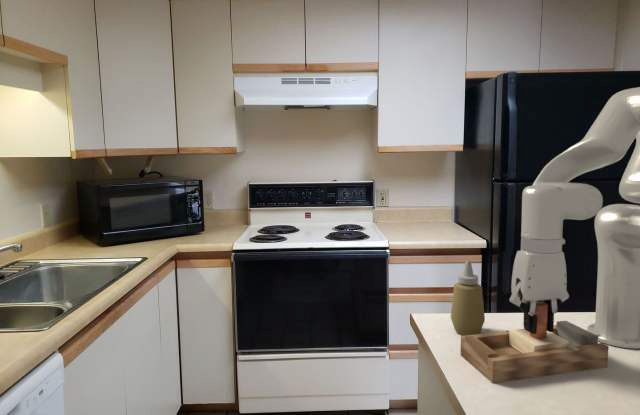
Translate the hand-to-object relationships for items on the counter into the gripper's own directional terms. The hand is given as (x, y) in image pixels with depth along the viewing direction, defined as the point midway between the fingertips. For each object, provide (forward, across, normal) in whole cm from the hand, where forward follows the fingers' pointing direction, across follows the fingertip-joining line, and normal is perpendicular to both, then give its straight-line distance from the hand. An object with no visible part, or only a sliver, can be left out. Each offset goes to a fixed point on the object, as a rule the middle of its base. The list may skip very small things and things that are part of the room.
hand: (538, 329), depth 90 cm
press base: (+7, +2, 0) cm, 7 cm away
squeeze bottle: (+7, +6, -17) cm, 19 cm away
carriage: (+5, 0, 0) cm, 5 cm away
